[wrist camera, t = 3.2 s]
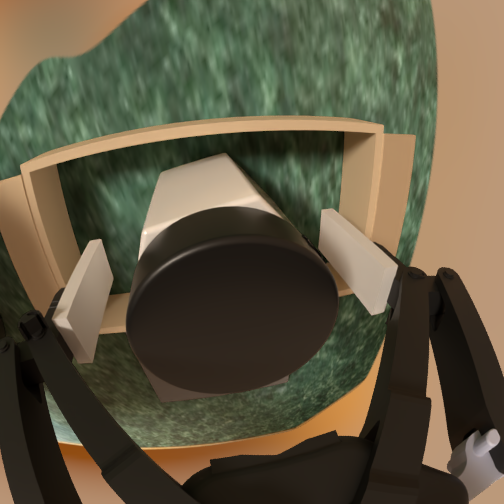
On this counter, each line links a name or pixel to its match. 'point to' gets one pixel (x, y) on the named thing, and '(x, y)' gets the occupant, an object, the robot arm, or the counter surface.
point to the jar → (225, 284)
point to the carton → (45, 165)
